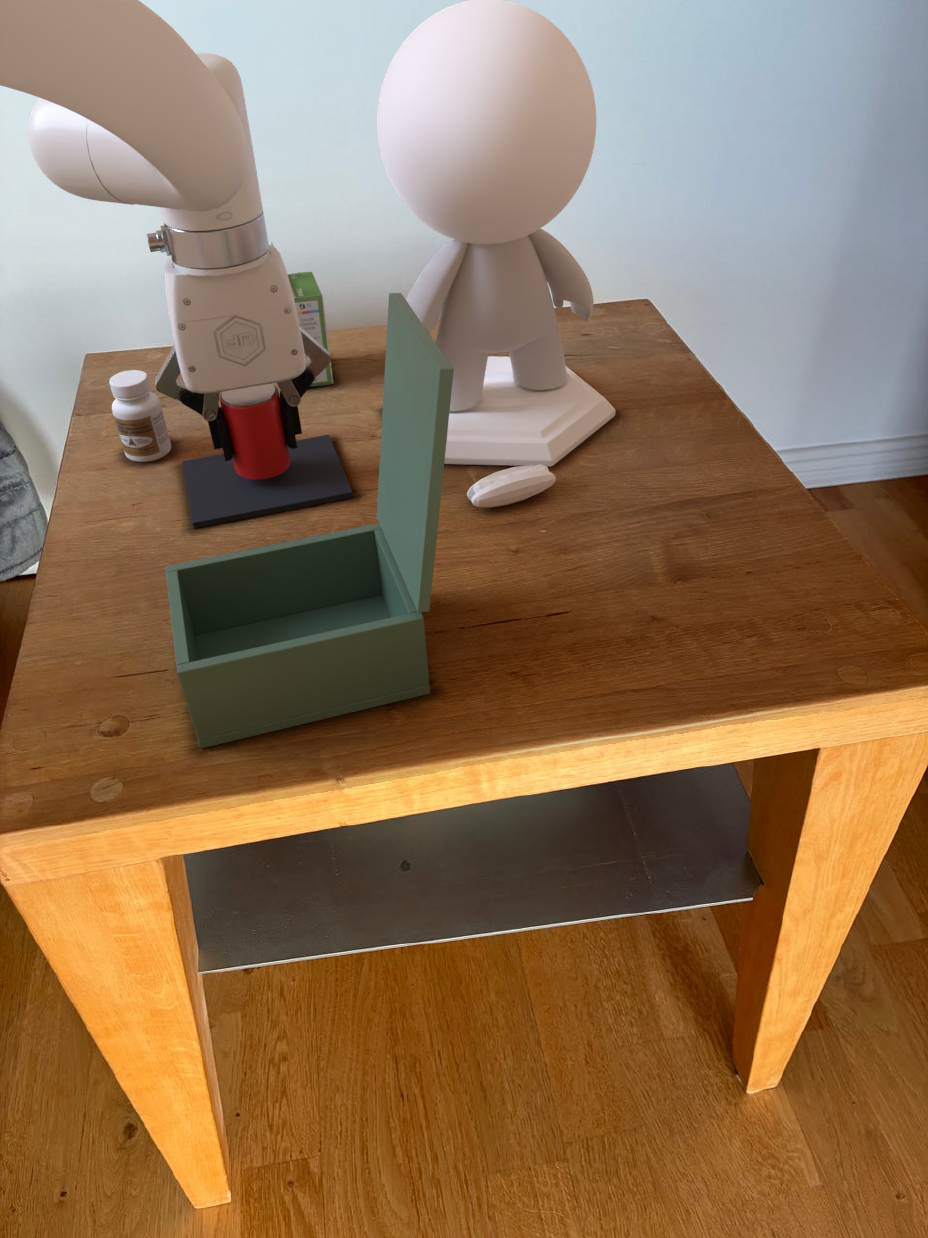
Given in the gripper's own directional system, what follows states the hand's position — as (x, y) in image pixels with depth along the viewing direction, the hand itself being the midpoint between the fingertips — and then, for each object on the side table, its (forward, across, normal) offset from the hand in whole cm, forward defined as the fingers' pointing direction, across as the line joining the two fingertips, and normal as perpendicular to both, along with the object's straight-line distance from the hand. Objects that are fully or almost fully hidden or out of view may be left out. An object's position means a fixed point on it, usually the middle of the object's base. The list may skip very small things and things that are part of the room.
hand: (259, 445), depth 86 cm
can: (+2, 0, 0) cm, 2 cm away
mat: (+4, 0, 0) cm, 4 cm away
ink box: (+4, +8, +20) cm, 22 cm away
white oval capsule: (+4, +20, -11) cm, 23 cm away
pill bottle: (+4, -10, +10) cm, 14 cm away
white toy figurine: (+4, +24, +4) cm, 25 cm away
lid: (-12, +8, -26) cm, 30 cm away
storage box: (+4, -1, -26) cm, 26 cm away
